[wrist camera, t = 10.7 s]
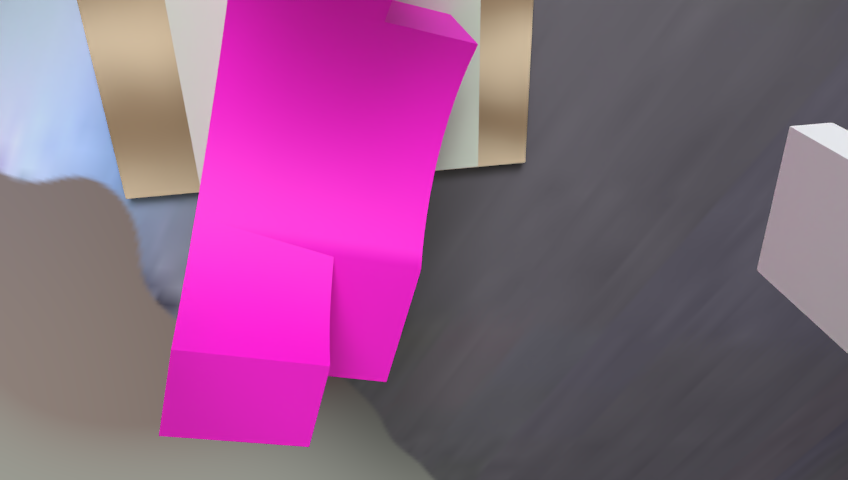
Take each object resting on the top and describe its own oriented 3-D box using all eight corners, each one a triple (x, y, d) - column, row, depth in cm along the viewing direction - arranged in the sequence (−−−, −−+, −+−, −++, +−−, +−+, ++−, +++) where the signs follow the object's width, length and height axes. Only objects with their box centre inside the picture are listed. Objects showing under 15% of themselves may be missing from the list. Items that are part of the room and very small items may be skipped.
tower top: (443, 107, 30) (478, 166, 24) (214, 126, 28) (201, 192, 23) (440, -144, 25) (482, -137, 20) (170, -136, 24) (140, -125, 19)
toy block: (370, 300, 26) (400, 453, 20) (190, 276, 25) (159, 435, 18) (498, -158, 20) (604, -151, 13) (265, -233, 18) (259, -267, 12)
